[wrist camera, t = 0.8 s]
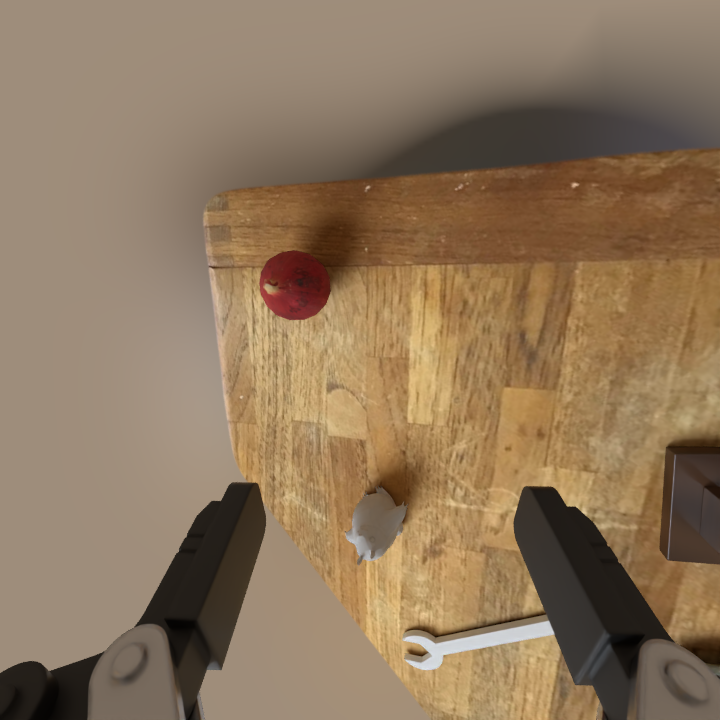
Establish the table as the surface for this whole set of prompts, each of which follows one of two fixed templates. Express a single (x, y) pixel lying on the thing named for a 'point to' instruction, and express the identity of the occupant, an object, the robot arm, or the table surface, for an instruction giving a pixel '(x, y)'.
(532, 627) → the wrench
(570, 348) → the table surface
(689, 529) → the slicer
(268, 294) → the onion
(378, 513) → the figurine
